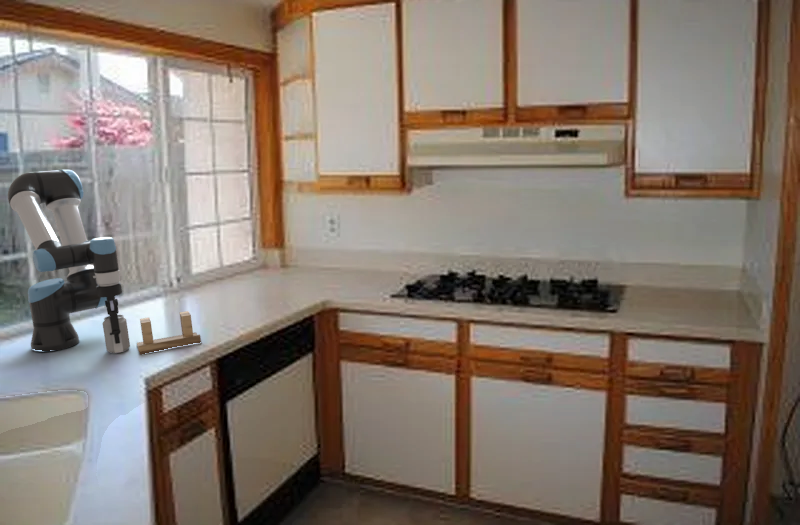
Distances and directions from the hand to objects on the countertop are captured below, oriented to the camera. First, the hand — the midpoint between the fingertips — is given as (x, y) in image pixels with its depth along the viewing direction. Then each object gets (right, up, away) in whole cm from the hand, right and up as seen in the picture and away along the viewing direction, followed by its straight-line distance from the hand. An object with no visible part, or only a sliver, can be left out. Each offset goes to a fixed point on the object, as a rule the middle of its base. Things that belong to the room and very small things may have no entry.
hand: (118, 348), depth 220 cm
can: (0, -1, 0) cm, 1 cm away
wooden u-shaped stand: (+16, +1, +3) cm, 17 cm away
